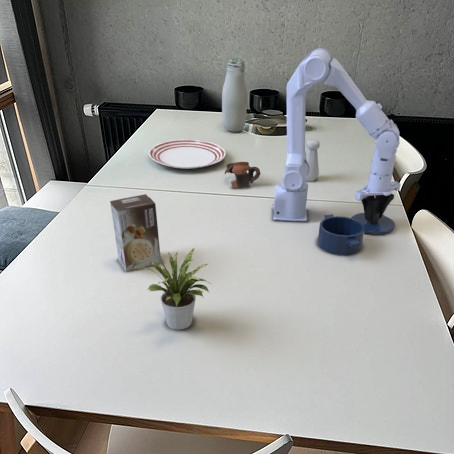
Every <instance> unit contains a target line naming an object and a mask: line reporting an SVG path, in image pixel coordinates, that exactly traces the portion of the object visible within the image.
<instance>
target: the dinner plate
mask: <svg viewBox="0 0 454 454" xmlns="http://www.w3.org/2000/svg"><path fill="white" fill-rule="evenodd" d="M226 155H227V152H226V150H225V149H224V148H223V147H222V146H221V145H219V144H217V143H214V142H210V141H206V140H201V139H200V140H199V139H192V138H191V139H188V138H187V139H185V138H184V139H183V138H182V139H172V140H167V141H163V142H159V143H157V144H155V145H153V146H152V147H150V148H149V150H148V156H149V158H150V159H151V160H152V161H154V162H156V163H158V164H160V165H162V166H165V167H168V168H173V169H178V170H197V169H202V168H205V167H209V166H212V165H216V164H217V163H220V162H222V161H223V160H224V159H225V158H226Z"/></svg>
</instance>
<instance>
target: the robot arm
mask: <svg viewBox="0 0 454 454" xmlns="http://www.w3.org/2000/svg"><path fill="white" fill-rule="evenodd" d="M323 80H325V81H324V82H323ZM320 82H323V85H327V86H332V87H335V88H337V89H338V90H339V92H340V93H341V94H342V96H344V97H345V98H346V100H347V101H348V103H350V104H351V106H353V107H354V109H355V118H356V119H357V121H358V123H360V125H361V126H362V127H363V128H364V130H365V131H366V132H367V133H368V135H369V136H370V137H372V138H373V139H374V146H375V147H374V152H373V153H372V159H371V165H370V170H369V176H368V182H367V183H368V184H367V185H366V186H364V187H362V188H361V189H359V190H357V191H355V192H354V199H355V200H356V201H358V202H361V204H362V206H363V207H362V208H363V213H364V215H365V219H366V220H367V221H369V222H370V221H372V219H373V216H374V212H375V210H378V211H379V212H380V215H379V219H381V218H382V216H383V215H384V213H385V211H386V209H388V207H389V205H390V204H391V202H392V201H393V200H395V194H393V193H392V192H393V191H396V192H398V191H400V190H401V183H400V182H398V181H392V177H393V174H394V173H393V172H394V168H395V163H396V157H397V155H396V154H397V150H398V148H399V146H400V143H401V142H400V130H399V128H398V125H397V124H396V123H394V121H393V120H392V119H389V118H388V116H387V115H386V114H385V113H384V111H383V110H382V109H383V105H382V104H381V103H380V102H378V103H377V101H375V100H368V99H366V97H365V95H364V94H363V93H362V92H361V90H360V89H359V87H358V86H357V84H356V83H355V82H354V81H353V79H352V78H351V76H350V75H349V74H348V73H347V71H346V69H345V68H344V67H343V65H342V64H341V63H340V62H339V60H337V59H336V58H335V57H333V56H332V53H331V52H330V51H329V50H328V49H326V48H322V47H318V48H316V49H313V50H312V51H311V52H310V53H309V54H307V55H306V56H304V58H303V60H302V61H300V63H299V64H298V65H297V68H296V69H295V70H294V72H293V74H292V76H291V77H290V79H289V80H288V82H287V84H286V158H285V159H286V161H285V165H284V167H285V168H284V172H283V174H282V177H281V184H277V185H274V186H275V187H274V198H273V199H274V200H273V203H272V211H273V215H272V216H273V221H283V222H284V221H285V222H286V221H287V222H307V221H308V215H307V200H308V193H309V192H308V191H309V184H308V181H306V177H307V175H308V174H309V171H310V167H309V164H308V162H307V159H306V153H307V151H306V113H307V112H306V110H307V109H306V107H307V106H306V104H307V102H306V101H307V99H306V98H307V96H306V95H307V94H306V93H307V91H308V90H309V89H310V88H311V87H312V86H314V85H317V84H318V83H320Z"/></svg>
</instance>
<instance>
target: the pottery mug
mask: <svg viewBox="0 0 454 454" xmlns="http://www.w3.org/2000/svg"><path fill="white" fill-rule="evenodd" d="M254 173H255V174H254ZM226 174H233V175H234V176H235V179H234V180H231V181H230V184H231V188H232V189H237V188H249V187H250V184H253V183H254V182H255V181H257V180H258V179H259V178H260V176H261V169H260V167H257V166H250V162H249V161H235V162H230V163H227V164H226V169H225V171H224V175H226Z"/></svg>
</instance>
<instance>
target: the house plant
mask: <svg viewBox="0 0 454 454" xmlns="http://www.w3.org/2000/svg"><path fill="white" fill-rule="evenodd" d="M195 249H196V247H194V248H192V249H191V250H189V251H188V253H187V254H186V256H185V257H184V260H183V262H182V264H181V265H180V268H179V272H178V251H179V250H177V251H176V253H175V255H174V257H173V256H172V254H171V253H170V252H169V251H167V254H168V257H169V264H170V268H171V272H170V271H169V270H168V268H167V267H166V265H165V264H164V263H163V262H162V261H161V262H160V261H158V260H156V261H158V262H160V263H159V264H161V265H162V267H163V268H162V267H161V266H160V265H159V264H158V263H157V264H156V263H155V262H152V261H151V262H152V263H151V262H150V263H151V264H152V265H151V266H153V267H154V268H155V270H156V271H158V273H160V275H161V276H162V277H163V278H162V277H161V276H160V275H159V274H158V273H156V275H157V276H158V277H159V278H160V279H161V280H162V281H159V282H157V283H152V284H150V285H149V286H148V288H147V289H146V290H147V291H148V293H150V292H157V291H159V292H160V291H162V292H163V293H162V294H161V296H160V302H161V303H160V304H161V306H162V310H163V313H164V317H165V321H166V324H167V326H168V327H169V328H170V329H172V330H175V331H176V330H180V331H181V330H186V329H187V328H189V327H190V326H191V325H192V323H193V317H194V313H195V312H194V310H195V305H196V297H197V296H200V297H201V298H203V299H204V298H205V297H204V295H203V293H204V291H206V292H208V293H209V294H210V291H209V288H208V287H207V286H206V285H205V284H201V283H200V284H198V283H197V282H206V283H208V284H211V285H212V283H211V282H209V281H207V279H205V278H199V277H196V276H194V275H195V274H196V273H197V272H199V271H200V269H202V268H203V267H206V266H208V265H209V263H203V264H200V265H198V266H197V267H196V268H194V269H193V270H192V271H189V272H188V269H189V267H190V265H191V263H192V262H193V260H194V258H192V257H193V255H194V252H195ZM153 260H154V259H153ZM137 268H138V269H145V270H148V271H151V272H153V273H155V270H153V269H151V268H149V267H146V266H145V267H137ZM170 273H171V274H170ZM160 283H161V284H163V285H164V287H162V285H159V284H160ZM195 283H197V284H195ZM194 288H195V289H194Z"/></svg>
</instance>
